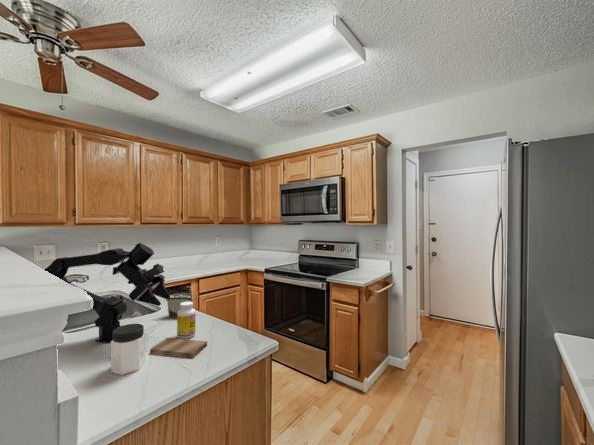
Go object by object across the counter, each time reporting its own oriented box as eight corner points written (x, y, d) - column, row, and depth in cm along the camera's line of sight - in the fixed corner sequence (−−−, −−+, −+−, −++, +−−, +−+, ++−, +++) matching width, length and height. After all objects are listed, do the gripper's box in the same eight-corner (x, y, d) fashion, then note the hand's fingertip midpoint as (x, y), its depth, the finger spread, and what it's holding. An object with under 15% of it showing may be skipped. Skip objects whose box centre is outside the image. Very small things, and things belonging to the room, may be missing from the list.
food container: (197, 313, 133) (197, 292, 133) (192, 317, 127) (192, 296, 126) (171, 313, 132) (171, 292, 132) (165, 318, 126) (165, 296, 126)
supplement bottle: (190, 340, 104) (190, 306, 103) (173, 339, 104) (173, 305, 104) (198, 332, 110) (198, 300, 110) (182, 332, 111) (182, 300, 110)
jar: (105, 371, 82) (105, 331, 82) (130, 358, 90) (130, 321, 90) (126, 377, 79) (126, 336, 79) (150, 363, 86) (150, 325, 86)
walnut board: (150, 353, 93) (150, 349, 93) (167, 341, 102) (167, 337, 102) (193, 358, 90) (193, 353, 90) (207, 345, 99) (207, 341, 99)
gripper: (137, 262, 96) (171, 292, 97) (159, 255, 114) (187, 280, 116) (114, 285, 95) (148, 315, 96) (139, 274, 114) (168, 300, 115)
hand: (164, 301), depth 106 cm, fingers open, 9 cm apart
